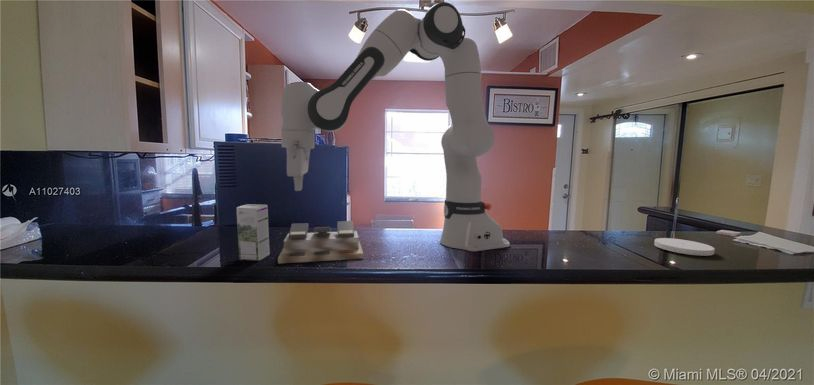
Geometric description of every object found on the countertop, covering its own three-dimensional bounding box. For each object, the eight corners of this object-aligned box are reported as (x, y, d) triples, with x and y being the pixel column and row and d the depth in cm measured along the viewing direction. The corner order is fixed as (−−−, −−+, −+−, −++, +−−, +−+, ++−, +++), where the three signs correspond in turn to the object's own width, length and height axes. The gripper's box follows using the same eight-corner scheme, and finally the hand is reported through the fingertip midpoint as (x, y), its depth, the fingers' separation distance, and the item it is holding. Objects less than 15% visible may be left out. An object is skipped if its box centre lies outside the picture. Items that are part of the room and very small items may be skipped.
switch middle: (331, 231, 92) (331, 227, 92) (330, 230, 85) (330, 226, 85) (315, 232, 91) (315, 228, 91) (313, 231, 84) (313, 227, 84)
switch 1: (308, 226, 91) (308, 222, 90) (306, 237, 84) (306, 234, 84) (292, 226, 90) (291, 223, 89) (288, 238, 83) (288, 235, 83)
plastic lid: (702, 249, 99) (703, 241, 99) (722, 262, 87) (723, 253, 87) (649, 243, 106) (649, 236, 105) (660, 254, 93) (661, 246, 93)
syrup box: (270, 254, 86) (268, 203, 85) (258, 261, 80) (256, 207, 79) (251, 253, 87) (249, 203, 85) (238, 260, 81) (235, 206, 79)
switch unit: (359, 246, 96) (359, 227, 95) (363, 258, 84) (363, 237, 84) (285, 249, 91) (284, 230, 90) (278, 263, 79) (277, 241, 79)
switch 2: (352, 223, 94) (352, 220, 93) (354, 236, 87) (354, 233, 87) (337, 224, 92) (337, 221, 92) (337, 237, 86) (337, 234, 86)
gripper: (306, 140, 77) (306, 194, 79) (312, 143, 97) (312, 187, 99) (279, 139, 76) (280, 194, 77) (291, 142, 96) (291, 186, 97)
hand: (298, 190), depth 88 cm, fingers closed
